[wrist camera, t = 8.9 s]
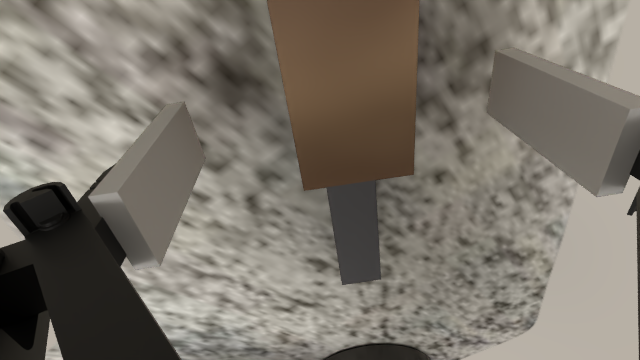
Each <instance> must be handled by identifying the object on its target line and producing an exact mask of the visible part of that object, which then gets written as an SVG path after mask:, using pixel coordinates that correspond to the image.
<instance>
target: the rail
mask: <svg viewBox="0 0 640 360" xmlns="http://www.w3.org/2000/svg"><path fill="white" fill-rule="evenodd" d="M327 192H328V199H329V205H330V211H331V217H332V224H333V230H334V236H335V243H336V249H337V255H338V262H339V268H340V274H341V281H342V285H346V284H352V283H359V282H366V281H372V280H379V279H381V271H380V253H379V236H378V218H377V200H376V182H375V180H373V181H366V182H360V183H353V184H346V185H339V186H333V187H327Z"/></svg>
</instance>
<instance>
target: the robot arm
mask: <svg viewBox="0 0 640 360" xmlns="http://www.w3.org/2000/svg"><path fill="white" fill-rule="evenodd" d="M487 113H488V114H489V115H490V116H492V117H493V118H494V119H496V120H497V121H498V122H500V123H501V124H502V125H503V126H505V127H506V128H507V129H509V130H510V131H511V132H513V133H514V134H515V135H516V136H518V137H519V138H520V139H522V140H523V141H524V142H526V143H527V144H528V145H529V146H531V147H532V148H533V149H535V150H536V151H537V152H539V153H540V154H541V155H542V156H544V157H545V158H546V159H548V160H549V161H550V162H552V163H553V164H554V165H555V166H557V167H558V168H559V169H561V170H562V171H563V172H565V173H566V174H567V175H568V176H570V177H571V178H572V179H574V180H575V181H576V182H578V183H579V184H580V185H581V186H583V187H584V188H585V189H587V190H588V191H589V192H591V193H592V194H593V195H595V196H596V197H601V196H606V195H613V194H619V193H623V191H624V188H625V186H626V183H627V181H628V179H629V177H630V175H632V176H634V177H635V178H637V179H638V180H640V96H638V95H635V94H632V93H630V92H627V91H625V90H622V89H620V88H617V87H614V86H612V85H609V84H607V83H604V82H602V81H599V80H596V79H594V78H591V77H589V76H586V75H583V74H581V73H578V72H576V71H573V70H571V69H568V68H565V67H563V66H560V65H558V64H555V63H552V62H550V61H547V60H545V59H542V58H540V57H537V56H534V55H532V54H529V53H527V52H524V51H521V50H519V49H516V48H508V49H502V50H496V51H495V57H494V64H493V72H492V79H491V86H490V93H489V100H488V108H487ZM205 159H206V158H205V155H204V152H203V150H202V147H201V144H200V142H199V139H198V136H197V134H196V131H195V128H194V126H193V123H192V120H191V118H190V115H189V112H188V110H187V107H186V104H185V102H180V103H173V104H167V105H166V106H165V107H164V108H163V109H162V111H161V112H160V113H159V114H158V115H157V116H156V118H155V119H154V120H153V121H152V122H151V123H150V125H149V126H148V127H147V128H146V129H145V131H144V132H143V133H142V134H141V135H140V136H139V138H138V139H137V140H136V141H135V142H134V143H133V145H132V146H131V147H130V148H129V149H128V150H127V152H126V153H125V154H124V155H123V156H122V157H121V159H120V160H119V161H118V162H117V163H116V164H115V165H113V166H112V167H110V168H109V169H107V170H106V171H104V172H103V173H102V175H101V176H100V177H99V178H98V179H97V180H96V182H95V183H94V184H93V185H92V186H91V187H90V190H87V192H86V193H85V194H84V195H83V196H82V197H81V198H80V200H79V201H78V202H76V200H75V199H74V197H73V196H72V194H71V193H70V191H69V190H68V188H67V187H66V185H65V184H63V183H61V182H51V183H47V184H42V185H39V186H37V187H34V188H31V189H29V190H27V191H25V192H23V193H21V194H19V195H18V196H16V197H14V198H13V199H11V200H10V201H9V202H8V203H7V204H6V205H5V206H4V210H3V211H4V213H5V214H6V215H7V216H8V217H9V219H10V220H11V221H12V222H13V223H14V225H15V226H16V227H17V228H18V229H19V230H20V232H21V233H22V234H23V235H24V236H25V239H26V240H23V241H20V242H17V243H14V244H11V245H8V246H5V247H2V248H0V360H45V353H46V346H47V337H48V330H49V322H50V319H51V322H52V325H53V328H54V331H55V334H56V338H57V341H58V344H59V347H60V350H61V354H62V357H63V360H182V359H181V358H180V356H179V355H178V353H177V352H176V350H175V349H174V347H173V346H172V344H171V343H170V341H169V340H168V338H167V337H166V335H165V334H164V332H163V331H162V329H161V328H160V326H159V325H158V323H157V322H156V320H155V318H154V317H153V315H152V314H151V312H150V311H149V309H148V308H147V306H146V305H145V303H144V302H143V300H142V299H141V297H140V296H139V294H138V293H137V291H136V290H135V288H134V287H133V285H132V284H131V282H130V281H129V279H128V278H127V276H126V275H125V273H124V272H123V270H122V269H121V267H120V266H121V265H122V263H123V261H124V259H125V257H127V258H128V260H129V261H130V263H131V264H132V266H133V268H134V269H135V270H139V269H145V268H152V267H158V266H160V265H161V263H162V261H163V258H164V256H165V254H166V251H167V249H168V246H169V244H170V242H171V239H172V237H173V235H174V232H175V230H176V228H177V225H178V223H179V220H180V218H181V216H182V213H183V211H184V209H185V206H186V204H187V201H188V199H189V197H190V194H191V192H192V190H193V187H194V185H195V183H196V180H197V178H198V175H199V173H200V171H201V168H202V166H203V164H204V161H205ZM635 211H637V258H638V259H637V261H638V262H637V263H638V327H639V360H640V187H639V189H638V192H637V194H636V196H635V198H634V200H633V202H632V205H631V207H630V209H629V211H628V213H627V215H633V213H634V212H635ZM325 360H430V358H429V357H427V356H426V355H425V354H423V353H422V352H420V351H417V350H415V349H412V348H408V347H404V346H397V345H371V346H364V347H358V348H354V349H350V350H346V351H343V352H340V353H338V354H335V355H333V356H331V357H329V358H327V359H325Z"/></svg>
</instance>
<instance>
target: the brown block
mask: <svg viewBox="0 0 640 360" xmlns="http://www.w3.org/2000/svg"><path fill="white" fill-rule="evenodd" d="M267 3H268V9H269V14H270V19H271V24H272V29H273V34H274V39H275V44H276V50H277V55H278V60H279V65H280V70H281V75H282V80H283V85H284V91H285V96H286V101H287V106H288V111H289V116H290V121H291V126H292V132H293V137H294V142H295V147H296V152H297V157H298V162H299V167H300V172H301V178H302V183H303V188H304V191H305V190H312V189H319V188H326V187H333V186H339V185H346V184H353V183H360V182H366V181H373V180H380V179H387V178H393V177H400V176H407V175H414V149H415V118H416V87H417V57H418V26H419V0H267Z"/></svg>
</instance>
